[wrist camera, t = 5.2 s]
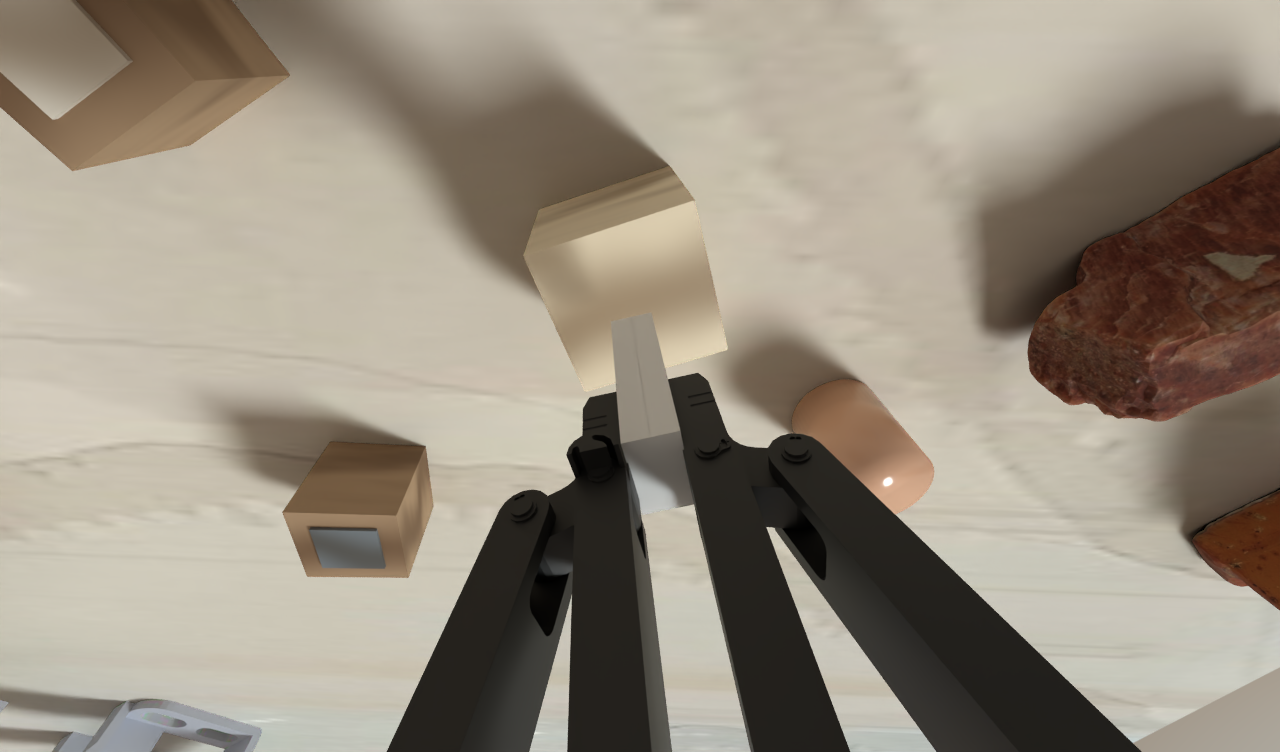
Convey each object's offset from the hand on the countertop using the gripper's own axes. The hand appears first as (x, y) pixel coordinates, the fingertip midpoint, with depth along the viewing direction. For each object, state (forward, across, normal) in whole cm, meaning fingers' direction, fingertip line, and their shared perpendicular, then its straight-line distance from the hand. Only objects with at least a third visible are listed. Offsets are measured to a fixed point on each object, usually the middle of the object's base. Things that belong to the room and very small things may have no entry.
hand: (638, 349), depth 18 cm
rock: (+10, +31, -7) cm, 33 cm away
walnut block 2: (+10, -20, -12) cm, 25 cm away
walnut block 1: (+10, -16, +13) cm, 23 cm away
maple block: (+10, 0, 0) cm, 10 cm away
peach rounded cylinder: (+10, +12, -15) cm, 22 cm away
